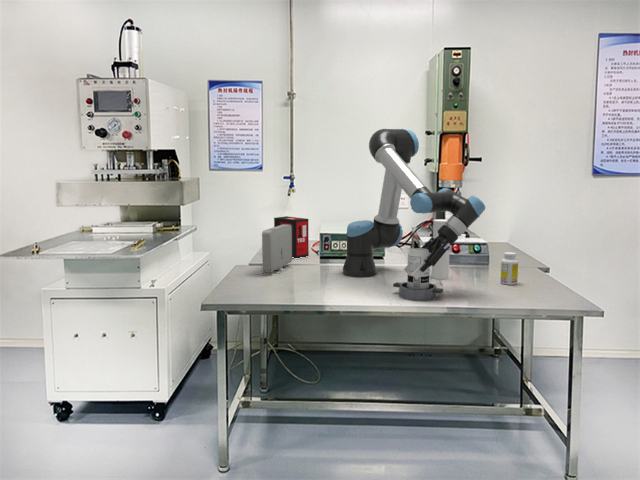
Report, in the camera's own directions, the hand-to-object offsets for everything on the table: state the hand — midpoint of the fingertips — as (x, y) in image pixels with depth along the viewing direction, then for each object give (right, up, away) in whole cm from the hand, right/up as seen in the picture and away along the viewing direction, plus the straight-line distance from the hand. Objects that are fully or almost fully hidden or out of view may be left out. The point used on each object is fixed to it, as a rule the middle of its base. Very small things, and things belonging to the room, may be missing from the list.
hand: (410, 274), depth 207 cm
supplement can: (+3, -6, +2) cm, 7 cm away
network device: (-53, -1, +48) cm, 72 cm away
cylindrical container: (+19, -4, +34) cm, 39 cm away
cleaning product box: (-49, +4, +83) cm, 97 cm away
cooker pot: (+3, -8, +2) cm, 9 cm away
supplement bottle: (+45, -5, +22) cm, 50 cm away
